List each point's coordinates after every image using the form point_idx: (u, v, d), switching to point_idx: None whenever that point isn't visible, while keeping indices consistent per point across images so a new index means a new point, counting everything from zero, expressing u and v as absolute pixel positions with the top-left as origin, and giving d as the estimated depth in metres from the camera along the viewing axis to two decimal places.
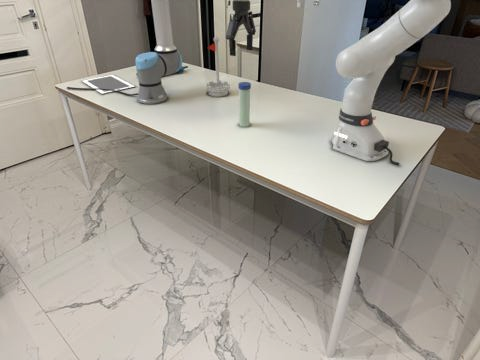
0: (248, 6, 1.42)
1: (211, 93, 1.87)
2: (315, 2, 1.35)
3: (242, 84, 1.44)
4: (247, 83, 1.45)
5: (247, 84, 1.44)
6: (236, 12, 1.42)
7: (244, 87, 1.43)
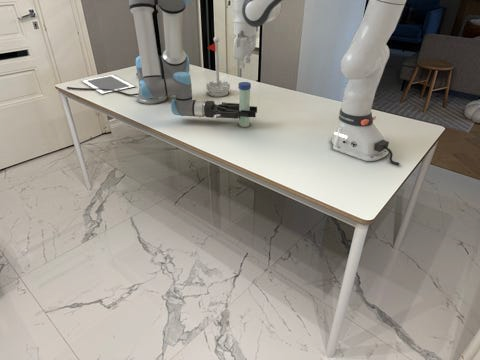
0: None
1: (211, 93, 1.87)
2: (247, 60, 1.43)
3: (242, 84, 1.44)
4: (247, 83, 1.45)
5: (247, 84, 1.44)
6: None
7: (244, 87, 1.43)
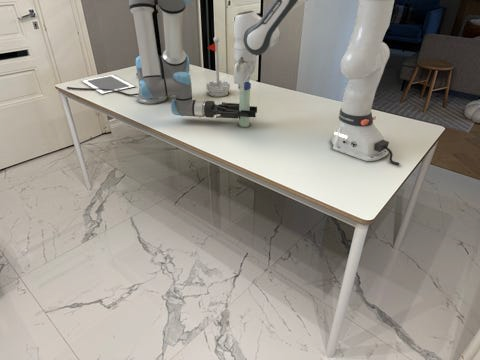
0: None
1: (211, 93, 1.87)
2: None
3: None
4: (247, 83, 1.45)
5: (247, 84, 1.44)
6: None
7: None
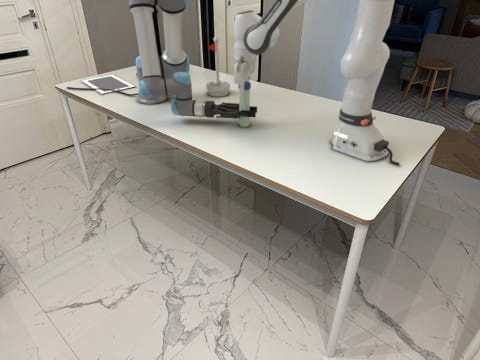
0: None
1: (211, 93, 1.87)
2: None
3: (247, 84, 1.44)
4: None
5: (246, 82, 1.46)
6: None
7: (250, 85, 1.45)
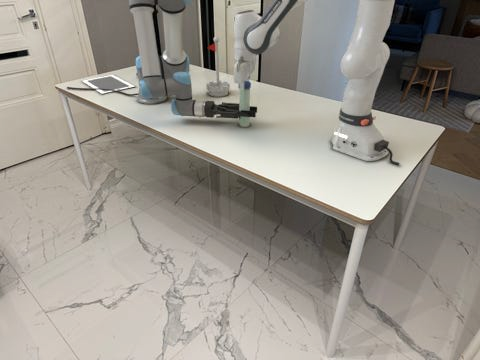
0: None
1: (211, 93, 1.87)
2: None
3: (246, 82, 1.46)
4: None
5: None
6: None
7: None
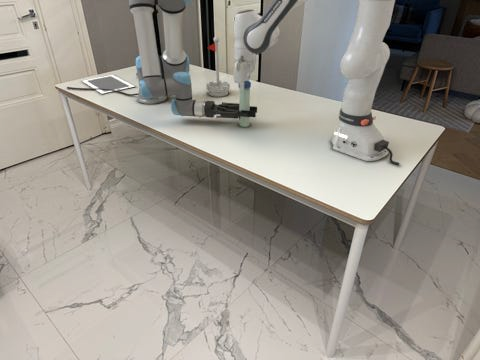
0: None
1: (211, 93, 1.87)
2: None
3: None
4: (246, 83, 1.44)
5: None
6: None
7: (238, 84, 1.45)
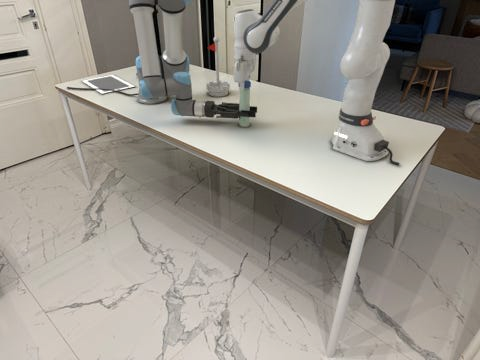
0: None
1: (211, 93, 1.87)
2: None
3: None
4: (247, 81, 1.45)
5: (247, 82, 1.44)
6: None
7: (245, 85, 1.43)
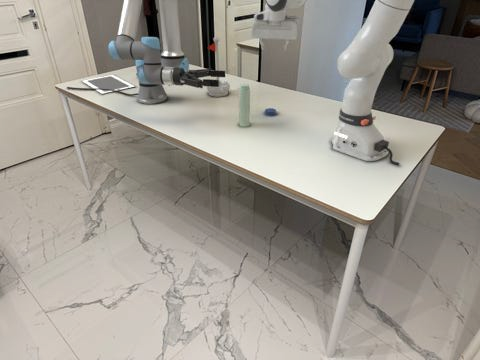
0: None
1: (211, 93, 1.87)
2: (264, 46, 1.50)
3: (271, 109, 1.67)
4: (268, 110, 1.65)
5: (267, 109, 1.66)
6: None
7: None
